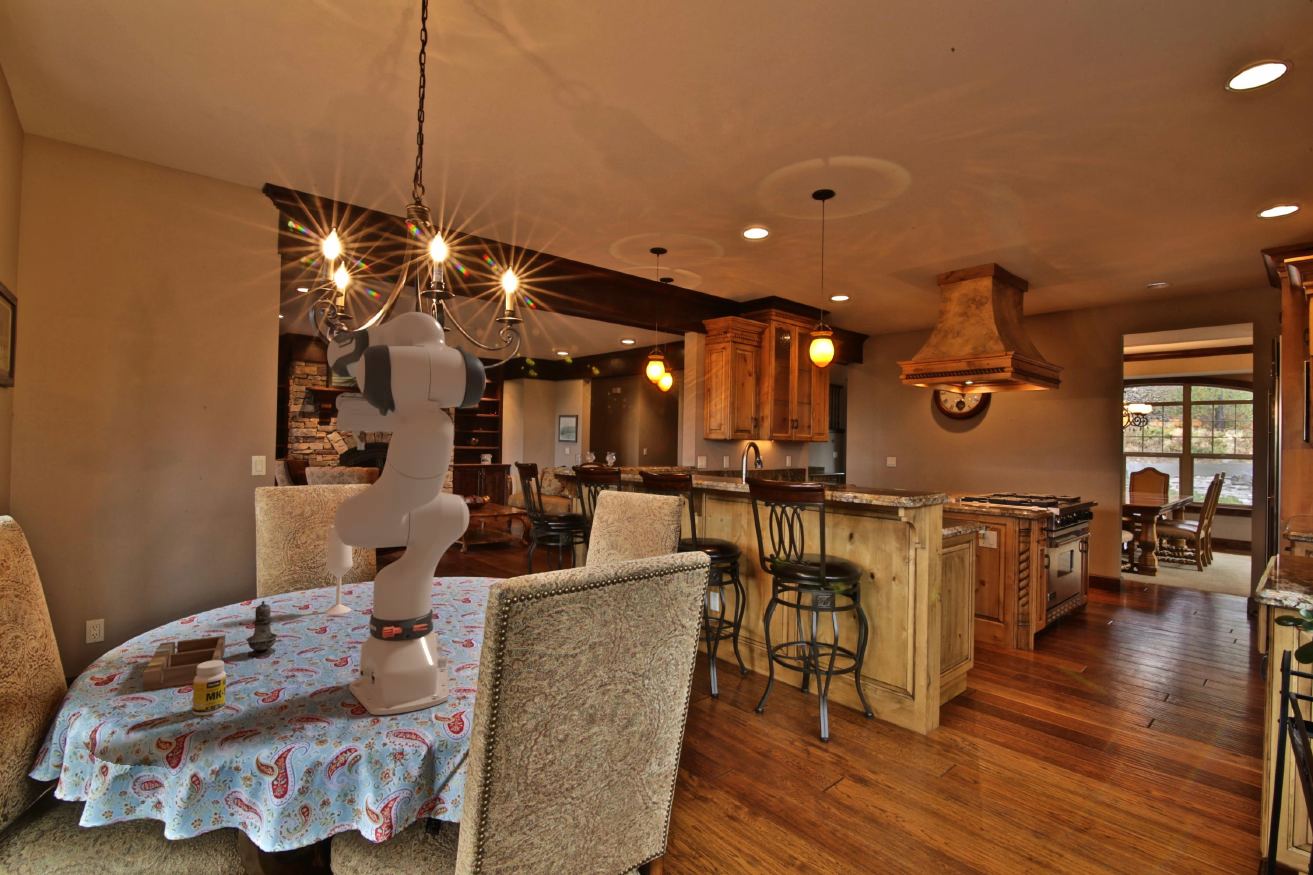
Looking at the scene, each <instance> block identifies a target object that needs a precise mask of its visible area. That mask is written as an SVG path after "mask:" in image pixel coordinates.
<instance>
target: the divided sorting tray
mask: <svg viewBox="0 0 1313 875" xmlns="http://www.w3.org/2000/svg"><path fill="white" fill-rule="evenodd" d="M176 644H177V646H176ZM225 651H226V635H219V636H210V637H201V638H192V639H183V640H178V641H177V643H176V641H168V642H166V641H165V642H160V643H159V645H158V647H157V649H156V651H155V652H154V653H153V655H152V657H151V659H150V661H149V662H148V664H147V665H146V667H145V669H144V671H143V672H142V692H145V691H151V690H153V691H154V690H158V689H165V688H172V687H178V686H184V685H185V686H186V685H194V678H195V677H196V676H197V666H198V665H199V664H201V663H203V662H207V661H213V660H221V661H223V659H224V655H225Z"/></svg>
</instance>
